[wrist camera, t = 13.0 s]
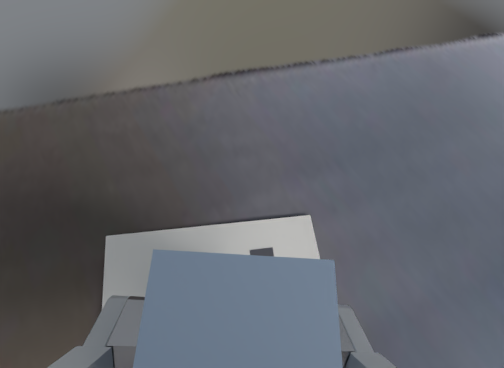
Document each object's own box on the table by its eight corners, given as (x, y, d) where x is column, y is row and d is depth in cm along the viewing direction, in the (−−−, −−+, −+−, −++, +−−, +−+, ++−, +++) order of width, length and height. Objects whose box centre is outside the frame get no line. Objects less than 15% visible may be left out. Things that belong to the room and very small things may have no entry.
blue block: (261, 285, 16) (334, 260, 6) (259, 370, 14) (353, 499, 5) (187, 281, 15) (153, 249, 6) (177, 369, 13) (108, 509, 4)
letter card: (308, 216, 21) (310, 214, 21) (351, 412, 17) (355, 415, 16) (108, 237, 19) (105, 235, 18) (95, 472, 14) (92, 477, 14)
